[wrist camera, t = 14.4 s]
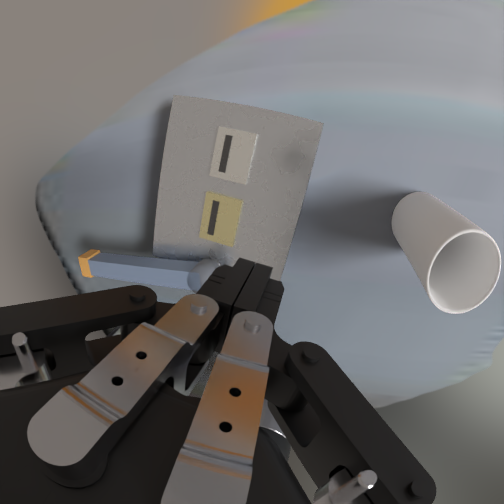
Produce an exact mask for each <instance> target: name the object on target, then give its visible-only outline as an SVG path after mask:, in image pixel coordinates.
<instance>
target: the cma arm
mask: <svg viewBox="0 0 504 504" xmlns="http://www.w3.org/2000/svg"><path fill="white" fill-rule="evenodd" d="M78 259H79V263H80V267H81V271H82V275H83V276H85V277H90V278H92V277H93V276H98V277H104V278H111V279H117V280H123V281H130V282H136V283H143V284H150V285H157V286H164V287H172V288H179V289H187V290H192V291H193V292H195V293H197V292H198V290H199V289H200V288H201V287H202V285H203V284H204V283H205V281H206V280H208V278H209V276H210V275H211V274H212V273H213V271H214V270H215V269H216V268H217V267H219V264H218V263H217V262H215V261H213V260H211V259H203V260H201V261H199V262H194V261H183V260H172V259H161V258H150V257H140V256H130V255H120V254H110V253H100V250H93V249H91V250H89V251H87V252H86V253H84V254H82V255H81V256H79V257H78Z"/></svg>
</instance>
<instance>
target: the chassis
mask: <svg viewBox="0 0 504 504" xmlns="http://www.w3.org/2000/svg"><path fill="white" fill-rule="evenodd" d="M323 124H324V123H320V122H317V121H313V120H309V119H305V118H302V117H298V116H294V115H289V114H285V113H281V112H276V111H272V110H267V109H262V108H257V107H252V106H247V105H242V104H236V103H230V102H224V101H218V100H211V99H204V98H196V97H188V96H178V95H174V96H173V101H172V107H171V112H170V117H169V123H168V128H167V134H166V140H165V147H164V153H163V160H162V167H161V174H160V182H159V190H158V199H157V208H156V218H155V229H154V242H153V256H156V257H159V258H162V259H172V260H183V261H194V262H199V261H201V260H203V259H211V260H213V261H215V262H217V263H218V264H219V266H222V265H224V264H225V265H229V266H232V267H233V266H234V264H235V263H236V261H237V260H238V259H239V257H240V258H244V259H247V260H250V261H253V262H256V263H260V264H263V265H267V266H270V267H273V269H272V273H271V277H270V278H271V279H274V280H277V281H280V279H281V276H282V273H283V270H284V266H285V263H286V260H287V256H288V253H289V249H290V246H291V243H292V239H293V236H294V232H295V229H296V225H297V222H298V218H299V215H300V211H301V208H302V204H303V200H304V197H305V193H306V190H307V186H308V182H309V179H310V175H311V171H312V167H313V164H314V160H315V156H316V152H317V148H318V145H319V141H320V137H321V133H322V129H323Z"/></svg>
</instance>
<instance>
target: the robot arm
mask: <svg viewBox="0 0 504 504" xmlns="http://www.w3.org/2000/svg"><path fill="white" fill-rule="evenodd" d="M272 269H273V267H270V266H267V265H263V264H260V263H256V262H253V261H250V260H247V259H244V258H240V257H239V259H238V260H237V261H236V263H235V264H234V266H233V267H232V266H229V265H225V264H224V265H222V266H219V267H217V268H216V269H215V270H214V271H213V273H212V274H211V275H210V276H209V278H208V280H206V281H205V283H204V284H203V285H202V287H201V288H200V289H199V290H198V292H197V293H196V294H190V295H186V296H184V297H183V298H181V299H180V300H179V301H178V302H177V303H176V304H171V303H163V302H157V296H156V293H155V292H154V291H153V290H152V289H150V288H148V287H145V286H141V285H131V286H126V287H120V288H114V289H108V290H102V291H97V292H91V293H85V294H79V295H73V296H68V297H62V298H55V299H49V300H43V301H37V302H31V303H24V304H18V305H12V306H6V307H0V504H311V502H310V500H309V499H308V497H307V495H306V494H305V492H304V490H303V489H302V487H301V485H300V484H299V482H298V480H297V478H296V477H295V475H294V473H293V472H292V470H291V468H290V466H289V464H288V463H287V461H288V458H289V454H290V449H291V447H292V448H293V450H294V451H295V453H296V455H297V456H298V458H299V459H300V461H301V463H302V464H303V466H304V467H305V469H306V470H307V472H308V473H309V475H310V476H311V478H312V479H313V481H314V482H315V484H316V485H317V487H318V489H317V490H316V492H315V494H314V498H313V501H314V502H313V503H314V504H432V503H433V501H434V499H435V496H436V486H435V482H434V480H433V479H432V477H431V476H430V475H429V474H428V472H427V471H426V470H425V469H424V468H423V466H422V465H421V464H420V463H419V462H418V461H417V459H416V458H415V457H414V456H413V455H412V453H411V452H410V451H409V450H408V449H407V447H406V446H405V445H404V444H403V443H402V441H401V440H400V439H399V438H398V437H397V436H396V435H395V433H394V432H393V431H392V430H391V428H390V427H389V426H388V425H387V424H386V422H385V421H384V420H383V419H382V418H381V416H380V415H379V414H378V413H377V412H376V410H375V409H374V408H373V407H372V406H371V404H370V403H369V402H368V401H367V400H366V398H365V397H364V396H363V395H362V394H361V392H360V391H359V390H358V389H357V388H356V386H355V385H354V384H353V383H352V382H351V380H350V379H349V378H348V377H347V376H346V374H345V373H344V372H343V371H342V370H341V368H340V367H339V366H338V365H337V363H336V362H335V361H334V360H333V359H332V357H331V356H330V355H329V354H328V353H327V351H326V350H325V349H323V348H322V347H320V346H319V345H317V344H314V343H311V342H298V343H295V344H294V345H290V344H288V343H286V342H285V341H283V340H282V339H281V338H280V337H279V336H278V335H277V334H276V332H275V329H274V323H275V320H276V316H277V313H278V309H279V306H280V302H281V299H282V295H283V292H284V287H283V285H282V282H281V281H277V280H274V279H271V278H270V277H271V273H272ZM117 326H120V333H121V334H118V335H114V336H109V337H105V338H100V339H96V340H91V341H86V340H85V337H86V336H87V335H88V334H89V333H90V332H93V331H98V330H103V329H108V328H112V327H117ZM214 351H216V352H219V353H220V354H218V355H217V358H216V360H215V363H214V366H213V368H212V371H211V374H210V376H209V379H208V382H207V384H206V387H205V390H204V392H203V395H202V398H197V397H191V396H188V395H189V394H190V392H191V391H192V389H193V388H194V386H195V385H196V383H197V382H198V380H199V379H200V377H201V376H202V374H203V372H204V371H205V369H206V368H207V366H208V364H209V359H210V358H211V356H212V354H213V352H214Z"/></svg>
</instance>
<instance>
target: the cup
mask: <svg viewBox="0 0 504 504" xmlns="http://www.w3.org/2000/svg"><path fill="white" fill-rule="evenodd" d="M391 226H392V231H393V234H394V236H395V238H396V240H397V241H398V243H399V245H400V246H401V248H402V250H403V251H404V253H405V255H406V256H407V258H408V260H409V262H410V263H411V265H412V267H413V269H414V270H415V272H416V274H417V276H418V278H419V279H420V281H421V283H422V285H423V287H424V289H425V290H426V292H427V294H428V296H429V298H430V299H431V301H432V302H433V304H434V305H435V306H436V307H437V308H439V309H440V310H442V311H444V312H447V313H452V314H458V313H464V312H467V311H470V310H472V309H474V308H475V307H477V306H478V305H480V304H481V303H482V302H483V301H484V300H485V299H486V298H487V297H488V296H489V295H490V294H491V292H492V291H493V289H494V287H495V285H496V283H497V281H498V278H499V275H500V270H501V255H500V251H499V248H498V246H497V244H496V242H495V241H494V240H493V238H492V237H491V236H490V235H489V234H487V233H486V232H485V231H484V230H482V229H481V228H480V227H478V226H477V225H476V224H474V223H473V222H471V221H470V220H469V219H467V218H466V217H464V216H463V215H462V214H460V213H459V212H457V211H456V210H454V209H453V208H451V207H450V206H448V205H447V204H445V203H444V202H442V201H441V200H439V199H438V198H436V197H435V196H433V195H431V194H429V193H426V192H414V193H411V194H408V195H407V196H405V197H404V198H402V199H401V200H400V201H399V203H398V204H397V205H396V207H395V209H394V211H393V215H392V220H391Z"/></svg>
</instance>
